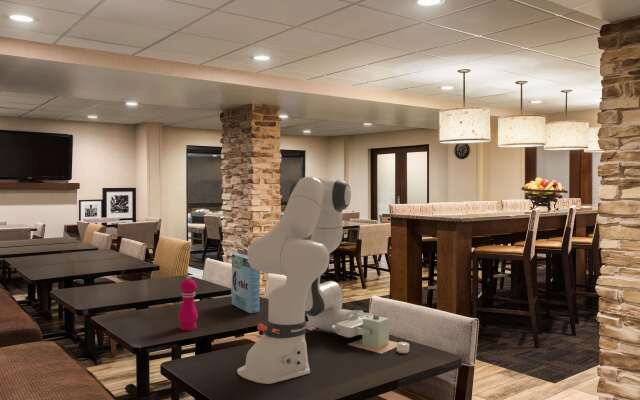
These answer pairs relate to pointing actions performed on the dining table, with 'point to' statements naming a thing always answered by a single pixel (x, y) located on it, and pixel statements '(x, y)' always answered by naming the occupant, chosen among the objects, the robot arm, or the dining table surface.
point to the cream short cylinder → (403, 347)
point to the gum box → (245, 284)
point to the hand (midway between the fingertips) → (378, 329)
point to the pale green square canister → (376, 331)
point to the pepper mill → (188, 305)
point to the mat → (378, 350)
